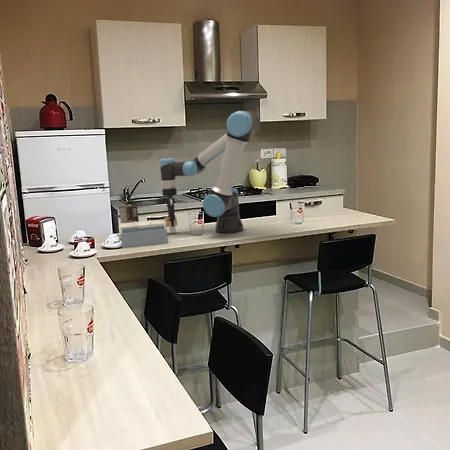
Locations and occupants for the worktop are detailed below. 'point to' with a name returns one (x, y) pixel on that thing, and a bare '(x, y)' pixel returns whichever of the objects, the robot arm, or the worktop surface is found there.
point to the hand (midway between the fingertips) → (172, 231)
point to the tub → (144, 236)
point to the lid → (147, 223)
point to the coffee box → (128, 214)
